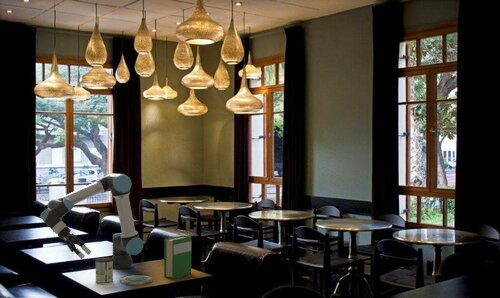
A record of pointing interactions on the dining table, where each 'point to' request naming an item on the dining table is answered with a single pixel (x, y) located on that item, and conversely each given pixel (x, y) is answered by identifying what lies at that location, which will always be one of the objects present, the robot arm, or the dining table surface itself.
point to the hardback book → (177, 256)
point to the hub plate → (136, 280)
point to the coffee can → (104, 270)
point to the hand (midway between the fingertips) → (86, 255)
